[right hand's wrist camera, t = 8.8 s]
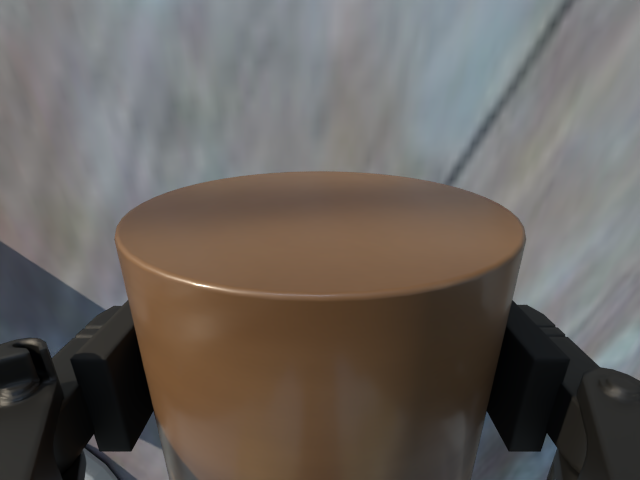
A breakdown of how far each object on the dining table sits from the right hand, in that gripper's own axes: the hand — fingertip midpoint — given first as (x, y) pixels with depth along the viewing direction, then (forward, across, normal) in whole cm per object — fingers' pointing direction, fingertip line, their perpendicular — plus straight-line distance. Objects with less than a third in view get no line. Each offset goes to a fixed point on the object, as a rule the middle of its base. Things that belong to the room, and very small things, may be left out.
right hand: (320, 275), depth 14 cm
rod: (0, 0, -9) cm, 9 cm away
